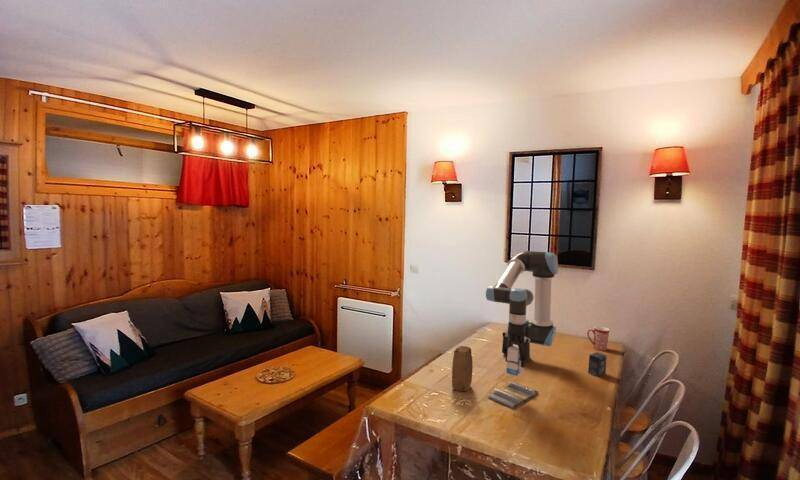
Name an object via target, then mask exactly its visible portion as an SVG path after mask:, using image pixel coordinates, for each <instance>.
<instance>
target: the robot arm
mask: <svg viewBox="0 0 800 480" xmlns="http://www.w3.org/2000/svg"><path fill="white" fill-rule="evenodd" d="M524 272H531V273H532V277H533V278H534V279H535V281H534V283H535V284H534V293H533V292H532V291H531V290H530V289H528V288H518V287H517V288H513V286H514V285H515V283H516V281H517V279H518V278H519V276H520V275H521V274H522V273H524ZM558 272H559V262H558V257H557V255H556V254H555V253H553V252H548V251H534V250H533V251H531V250H524V251H521V252H519V253H517V254H515V255H513V256H512V257H511V258H510V259H509V261H508V263H507V266H506V269H505V270H504V272H502V275H501V276H500V278H499V279H498V281H497V282H496V284H495V285H489V286H488V287H486V291H485V298H486V300H487V301H489V302H494V303H501V304H507V305H508V304H509V308H508V309H509V310H508V322H507V331H504V332H502V347H501V353H502V355H503V358H505V362H506V363H507V356H508V348H509V347H511V346H513V344H515V345H518V348H519V353H520V358H521V359H520V360H519V374H518V375H522V374H523V373H524V368H525V367H526V362H527V361H528V362H529V361H530V360H531V359H530V358H531V353H530V352H531V349H530V348H531V344H534V345H540V346H544V347H551V346H552V345H553V343H554V340H555V337H556V333H557V327H556V326H555V325H554V323H553V321H552V320H551V303H552V279H554V278H555V276H556V275H557V274H558ZM533 301H534V311H533V313H534V318H533V319H531V322H530V321H529V319H528V318H527V307H528V306H529V305H531V304H532V302H533ZM506 371H507V368H506Z"/></svg>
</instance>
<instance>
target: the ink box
mask: <svg viewBox="0 0 800 480" xmlns="http://www.w3.org/2000/svg"><path fill="white" fill-rule="evenodd" d="M520 359H521V358H520V353H519V348H518V345H515V344H513V346H511V347H509V348H508V356H507V362H506V369H507V370H506V374H508V375H512V376H515V377H516V376H518V375H520V374H519V360H520Z"/></svg>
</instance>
